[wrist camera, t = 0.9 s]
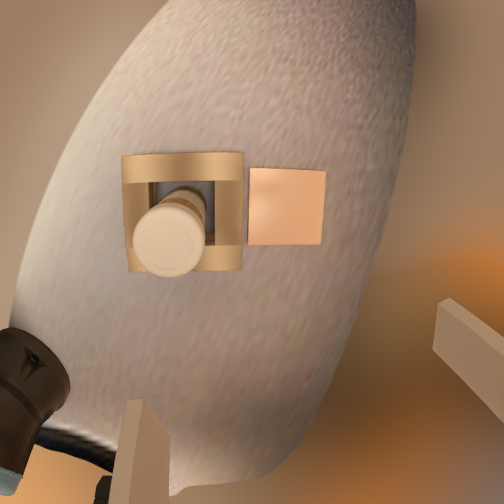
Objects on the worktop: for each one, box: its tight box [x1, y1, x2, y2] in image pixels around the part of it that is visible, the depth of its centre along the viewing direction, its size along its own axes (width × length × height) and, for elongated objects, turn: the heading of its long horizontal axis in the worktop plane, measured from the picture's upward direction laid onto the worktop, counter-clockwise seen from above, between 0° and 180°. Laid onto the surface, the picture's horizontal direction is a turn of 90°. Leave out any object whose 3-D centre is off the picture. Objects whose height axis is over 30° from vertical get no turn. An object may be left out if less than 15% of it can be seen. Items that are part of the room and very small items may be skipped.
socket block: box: [122, 152, 244, 272], centre depth 28 cm, size 11×11×4 cm
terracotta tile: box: [247, 168, 326, 245], centre depth 31 cm, size 8×8×1 cm
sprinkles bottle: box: [133, 186, 207, 277], centre depth 24 cm, size 5×5×13 cm
